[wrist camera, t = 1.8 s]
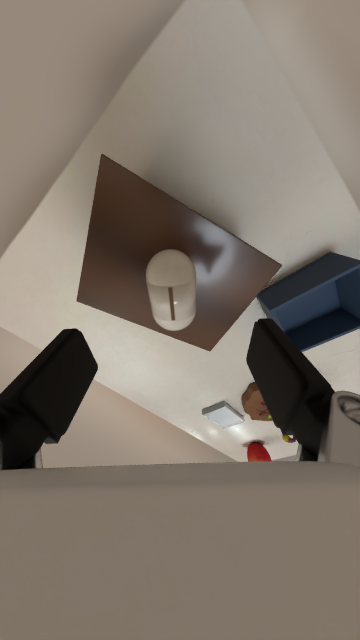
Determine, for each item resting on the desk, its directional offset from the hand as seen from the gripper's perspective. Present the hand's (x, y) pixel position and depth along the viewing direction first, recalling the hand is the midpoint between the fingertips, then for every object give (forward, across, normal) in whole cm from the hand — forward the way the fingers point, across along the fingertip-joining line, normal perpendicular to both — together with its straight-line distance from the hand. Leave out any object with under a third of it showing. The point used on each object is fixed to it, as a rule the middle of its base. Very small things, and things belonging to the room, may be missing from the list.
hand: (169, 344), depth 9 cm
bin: (+20, -22, +9) cm, 31 cm away
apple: (+21, -27, +75) cm, 82 cm away
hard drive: (+21, -12, +49) cm, 54 cm away
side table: (+20, 0, -1) cm, 20 cm away
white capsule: (+8, 0, 0) cm, 8 cm away
